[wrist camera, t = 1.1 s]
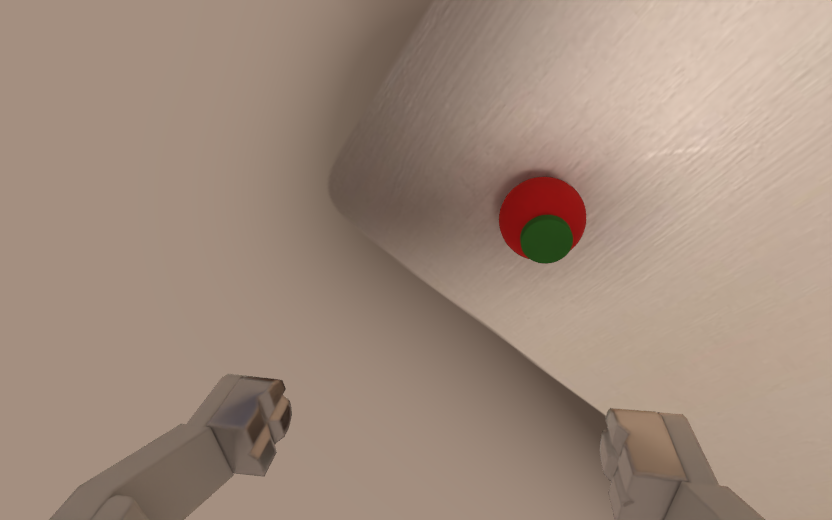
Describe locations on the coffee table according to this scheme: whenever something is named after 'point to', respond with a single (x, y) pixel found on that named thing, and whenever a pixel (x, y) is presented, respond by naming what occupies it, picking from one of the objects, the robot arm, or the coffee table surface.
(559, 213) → the strawberry
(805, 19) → the coffee table surface
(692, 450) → the robot arm
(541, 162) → the coffee table surface
